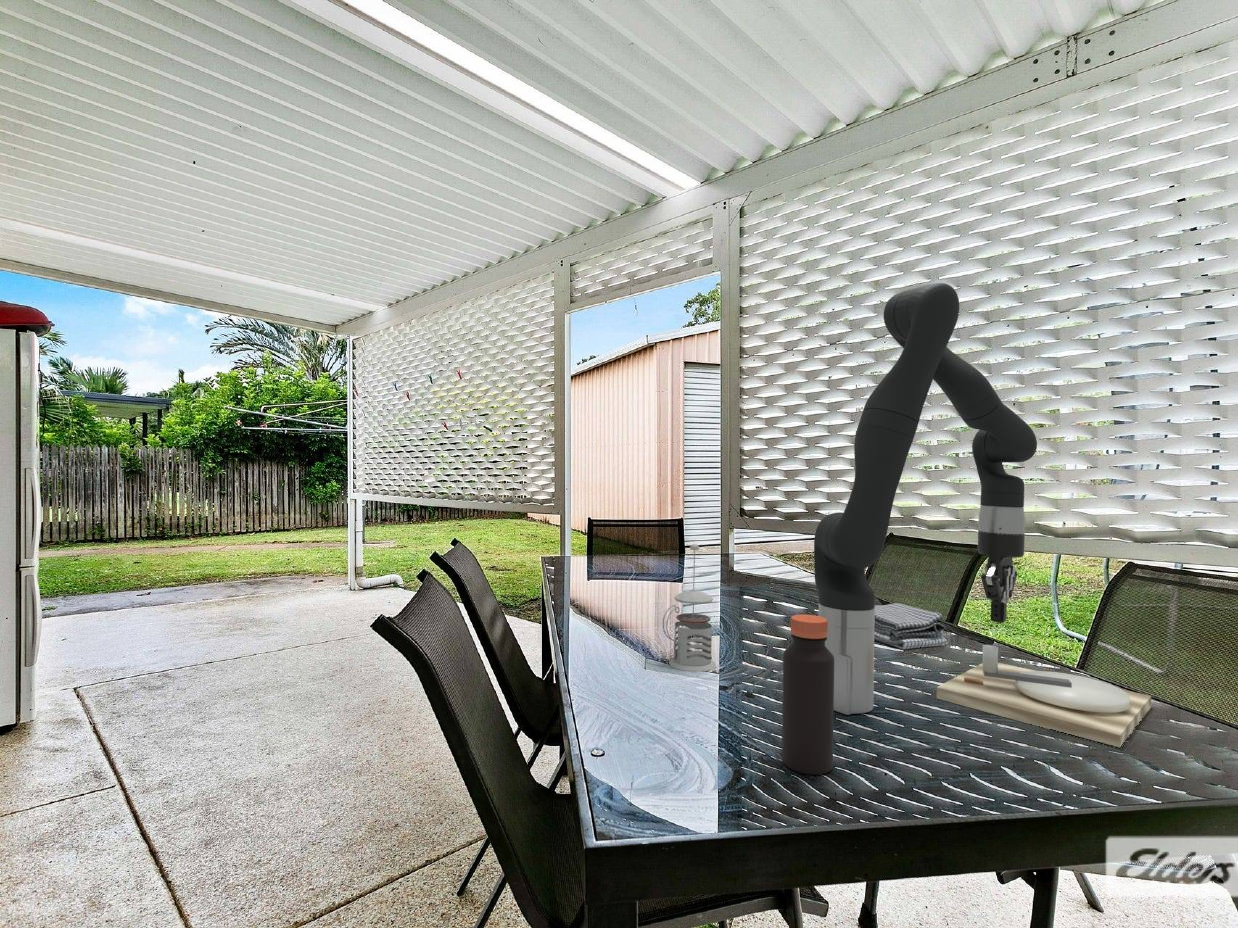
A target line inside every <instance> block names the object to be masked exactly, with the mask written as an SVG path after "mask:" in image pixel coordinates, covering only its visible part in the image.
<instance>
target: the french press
mask: <svg viewBox="0 0 1238 928" xmlns="http://www.w3.org/2000/svg"><path fill="white" fill-rule="evenodd" d="M689 550H691V551H693V575H695V567H696V566H695V564H696V563H695V562H696V560H695V559H696V551H699V550H700V545H698V544H696V543H693V544H691V545H690V546H689ZM692 581H693V584H692V585H693V589H691V590H684V591H682V592H680V593H678V594H676V595H675V596H674V600H675V602H677V603H682V604H690V605H692V613H691V612H690V613H689V612H688V613H687V612H686V613H680V610H681V609H680V607H679V606H676V605H675V604H673V605H670V606H669V607H668V608H667V610H665V613H664V614H663V618H662V629H663V631H662V632H663V634H664V635H665V637H666V638H667V639H669V640H671V641H672V642H673V657H672V659H670V661H669V662H668V663H669V665H670V666H671V667H672V668H674V669H676V670H681V671H684V672H695V673H696V672H707V671H712V670H714V669H715V668H716V667H717V664H716V662H715V661H713V660H712V639H713V637H712V636H713V635H712V631H713V630H712V629H713V628H712V627H713V624H711V623H709V622H710V621H711V616H709V615H706V614H700V613H695V610H694V609H695V605H702V604H703V605H704V604H709V603H712V602H713V600H714V598H713V597H712V596H710V595H709V594H707V593H706V592H703V591H701V590H696V589H695V578H693V580H692ZM673 607H674V608H673ZM671 608H673V609H672V610H671V611H669V610H670V609H671ZM677 609H678V611H677ZM674 611H675V613H676V614H677V615H676V617H675V619H677V621H676V622H674V636H673V637H674V639H673V637H671V636H670V633H669V629H668V623H669V619H670V616H671V614H672V613H673V612H674ZM668 612H669V614H668V616H667V619H666V615H667V613H668ZM665 619H666V623H665ZM665 624H666V625H665ZM685 627H686V628H685ZM691 636H692V638H691ZM691 643H693V644H691ZM692 649H694V650H692Z"/></svg>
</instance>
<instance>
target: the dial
mask: <svg viewBox="0 0 1238 928" xmlns="http://www.w3.org/2000/svg"><path fill="white" fill-rule="evenodd" d="M998 659H999V647H998V646H995V645H993V644H983V645H982V663H981V664H982V670H983V674H984V676H988V677H995V678H1003V679H1010V680H1015V687H1016V688H1017V689H1018V690H1019V691H1020V692H1022V693H1024V694H1026V695H1028V696H1030V697H1032V698H1035V699H1037V700H1040V701H1043V702H1047V703H1050V704H1054V705H1058V706H1062V707H1066V708H1071V709H1077V710H1083V711H1091V712H1106V713H1112V712H1122V711H1126V710H1128V709H1129V708H1130V696H1129V694H1128V693H1126V692H1125V691H1123V690H1124V689H1122V688H1120V687H1118V686H1115V685H1113V684H1110V683H1107V682H1104V681H1101V680H1097V679H1094V678H1090V677H1086V676H1082V675H1081V676H1080V675H1077V674H1076V675H1075V674H1072V673H1071V674H1070V673H1064V672H1059V671H1058V672H1057V671H1049V670H1048V671H1047V670H1046V671H1045V670H1035V671H1026V672H1021V673H1014V672H1006V671H999V670H998V663H999V660H998Z"/></svg>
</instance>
